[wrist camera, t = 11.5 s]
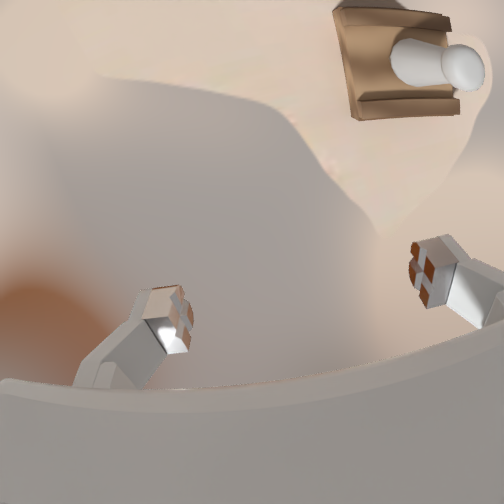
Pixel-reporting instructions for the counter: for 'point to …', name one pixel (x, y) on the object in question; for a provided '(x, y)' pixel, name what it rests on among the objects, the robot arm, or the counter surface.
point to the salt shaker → (437, 65)
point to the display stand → (378, 64)
